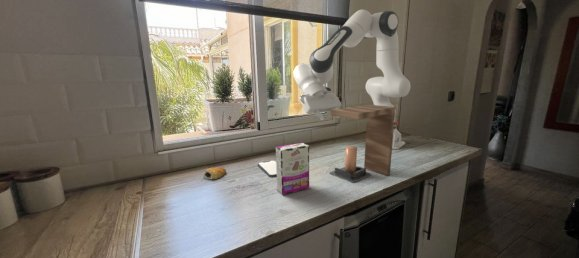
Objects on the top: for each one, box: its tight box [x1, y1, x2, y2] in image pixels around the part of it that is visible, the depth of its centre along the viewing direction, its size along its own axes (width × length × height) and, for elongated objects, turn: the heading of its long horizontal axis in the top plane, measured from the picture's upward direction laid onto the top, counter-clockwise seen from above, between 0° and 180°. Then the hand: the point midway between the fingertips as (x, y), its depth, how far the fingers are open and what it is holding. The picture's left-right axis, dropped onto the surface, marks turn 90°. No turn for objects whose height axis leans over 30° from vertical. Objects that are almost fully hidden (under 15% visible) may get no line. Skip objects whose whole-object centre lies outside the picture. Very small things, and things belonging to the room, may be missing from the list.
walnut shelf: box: [330, 104, 396, 177], centre depth 100 cm, size 24×12×28 cm, turn 130°
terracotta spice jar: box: [344, 145, 358, 173], centre depth 105 cm, size 4×4×11 cm
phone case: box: [257, 160, 277, 178], centre depth 112 cm, size 9×2×16 cm
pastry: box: [202, 166, 227, 180], centre depth 106 cm, size 9×7×4 cm
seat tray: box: [329, 165, 372, 184], centre depth 106 cm, size 12×12×3 cm
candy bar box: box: [275, 142, 310, 196], centre depth 91 cm, size 11×5×16 cm, turn 118°
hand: (331, 118), depth 110 cm, fingers open, 8 cm apart
